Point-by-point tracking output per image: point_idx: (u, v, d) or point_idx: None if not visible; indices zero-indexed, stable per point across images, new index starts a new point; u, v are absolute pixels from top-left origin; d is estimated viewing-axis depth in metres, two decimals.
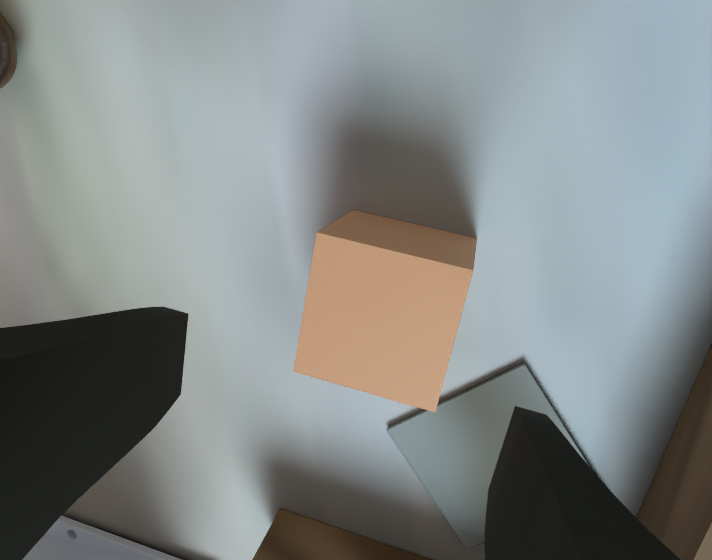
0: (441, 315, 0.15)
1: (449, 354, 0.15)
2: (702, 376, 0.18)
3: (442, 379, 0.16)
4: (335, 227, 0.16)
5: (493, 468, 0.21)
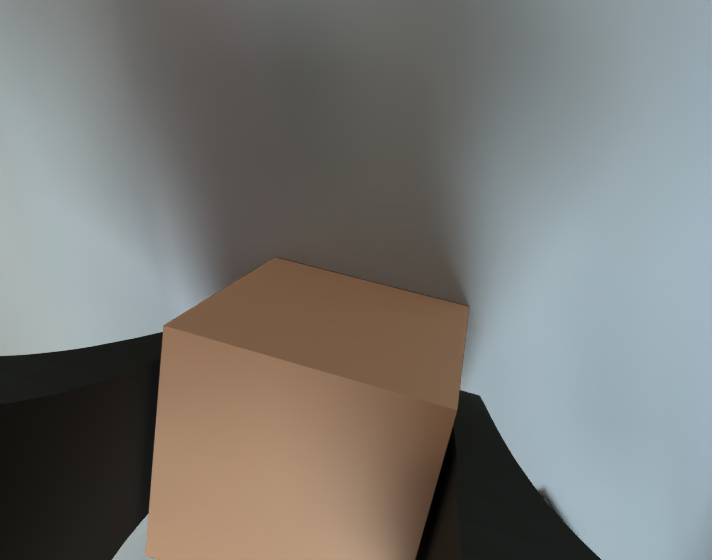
0: (398, 486, 0.08)
1: (414, 553, 0.08)
2: None
3: None
4: (214, 306, 0.09)
5: None
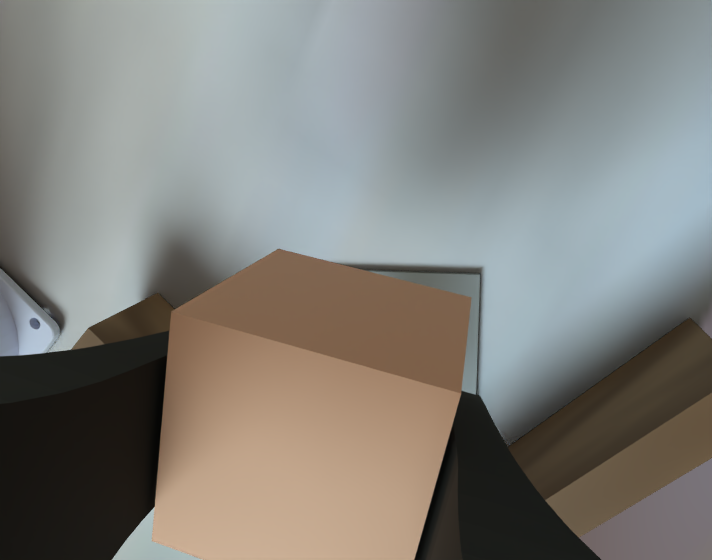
0: (402, 469, 0.08)
1: (418, 536, 0.08)
2: (625, 368, 0.18)
3: None
4: (220, 294, 0.09)
5: None
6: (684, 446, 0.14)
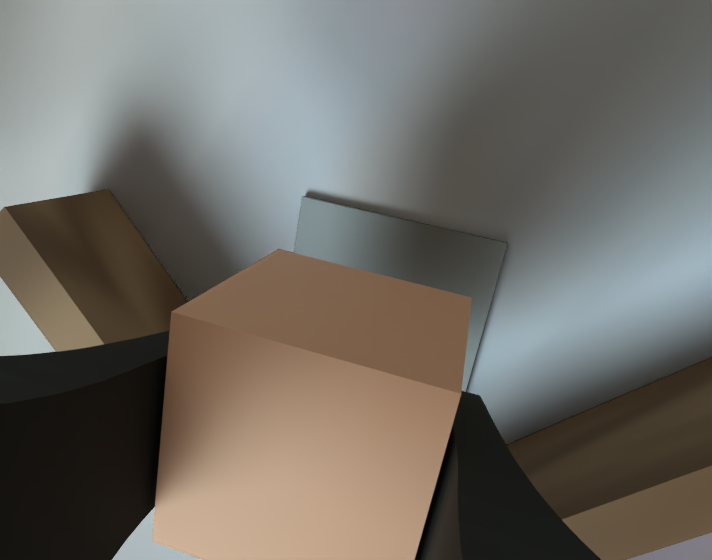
0: (402, 470, 0.08)
1: (418, 537, 0.08)
2: (652, 388, 0.15)
3: None
4: (220, 294, 0.09)
5: None
6: None
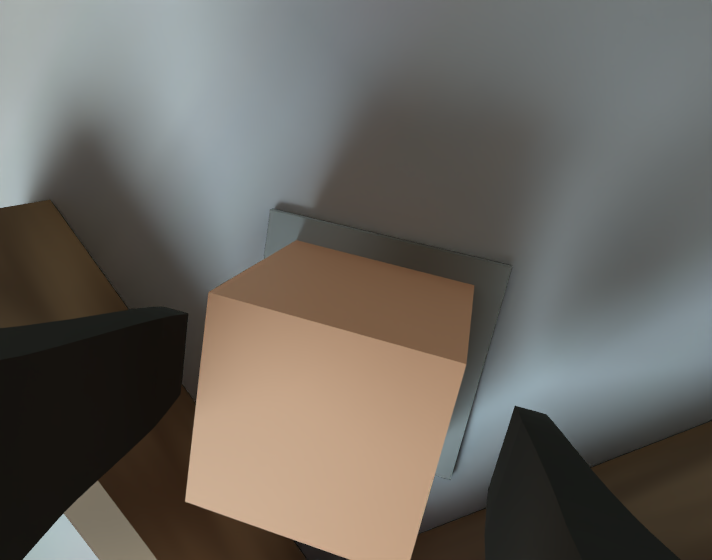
0: (413, 432, 0.09)
1: (427, 493, 0.09)
2: (684, 439, 0.13)
3: (415, 531, 0.10)
4: (249, 278, 0.10)
5: None
6: None
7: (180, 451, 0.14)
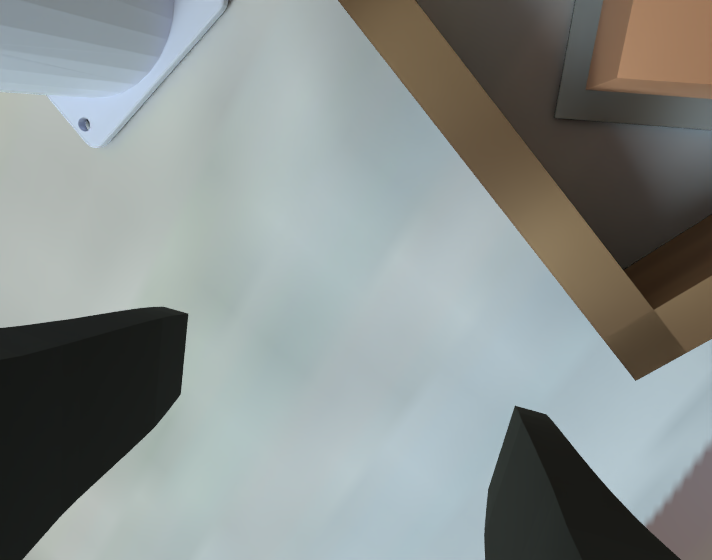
0: None
1: None
2: None
3: None
4: None
5: None
6: None
7: None
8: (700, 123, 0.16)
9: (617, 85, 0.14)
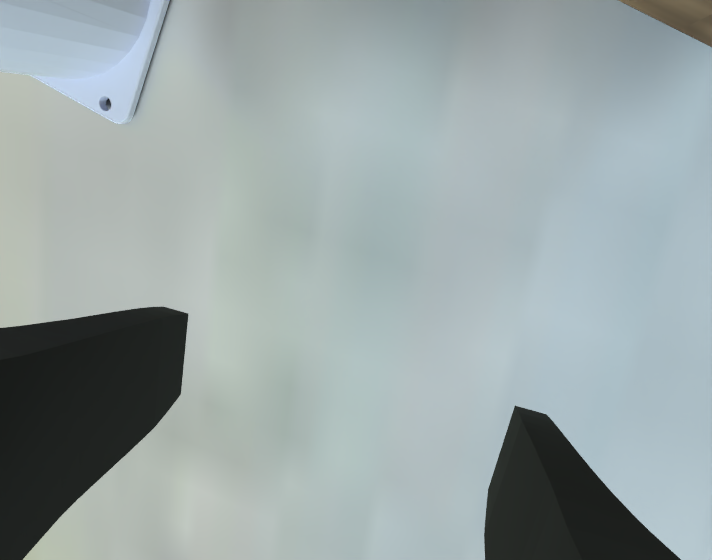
0: None
1: None
2: None
3: None
4: None
5: None
6: None
7: None
8: None
9: None
